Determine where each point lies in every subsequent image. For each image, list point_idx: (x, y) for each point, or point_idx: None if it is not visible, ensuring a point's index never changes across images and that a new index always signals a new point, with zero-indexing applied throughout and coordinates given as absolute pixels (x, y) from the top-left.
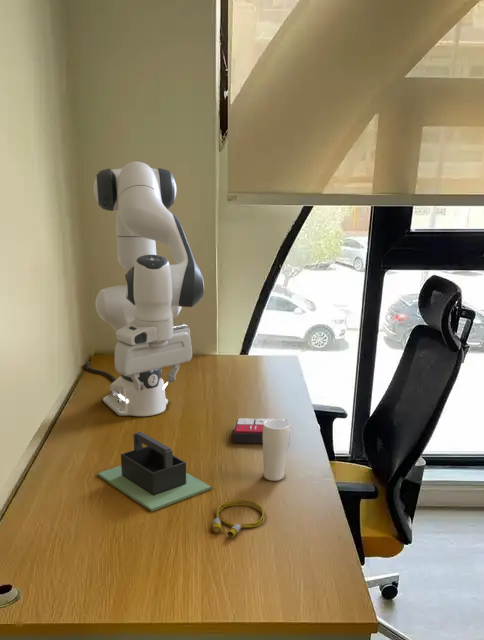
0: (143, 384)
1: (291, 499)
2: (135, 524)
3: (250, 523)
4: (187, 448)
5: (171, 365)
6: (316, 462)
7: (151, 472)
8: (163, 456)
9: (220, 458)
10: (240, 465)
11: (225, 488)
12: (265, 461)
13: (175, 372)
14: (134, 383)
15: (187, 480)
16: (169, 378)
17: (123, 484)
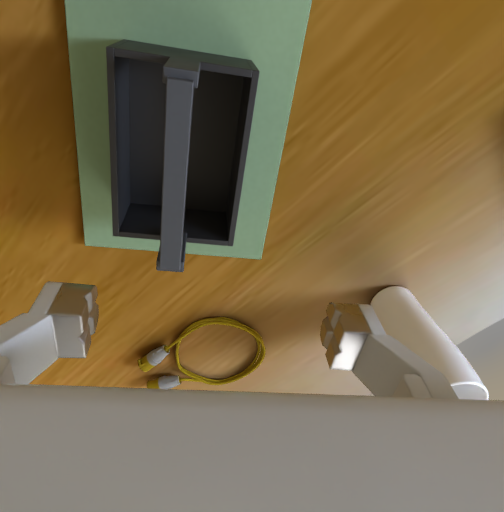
0: (88, 347)
1: (327, 363)
2: (26, 255)
3: (203, 381)
4: (430, 30)
5: (398, 396)
6: (497, 313)
7: (114, 229)
8: (240, 138)
9: (415, 161)
10: (404, 222)
11: (285, 271)
12: (384, 327)
13: (370, 387)
14: (32, 307)
15: (245, 204)
16: (334, 330)
17: (93, 96)
